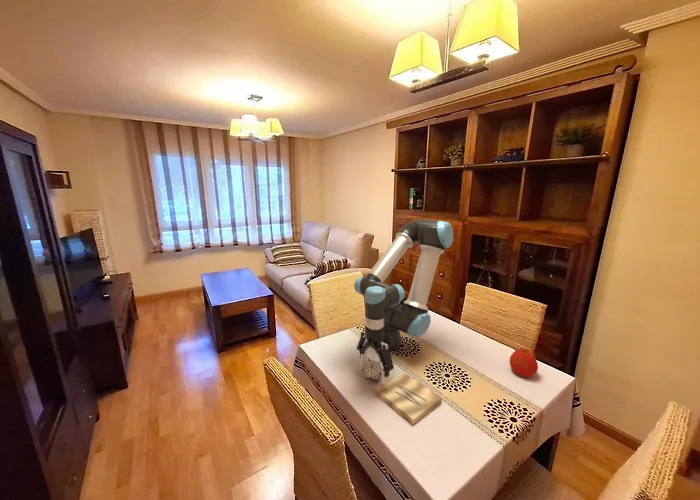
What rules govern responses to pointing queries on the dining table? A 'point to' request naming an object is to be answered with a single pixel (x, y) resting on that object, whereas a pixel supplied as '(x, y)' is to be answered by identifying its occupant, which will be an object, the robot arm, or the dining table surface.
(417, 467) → the dining table surface
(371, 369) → the game die
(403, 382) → the board
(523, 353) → the apple
